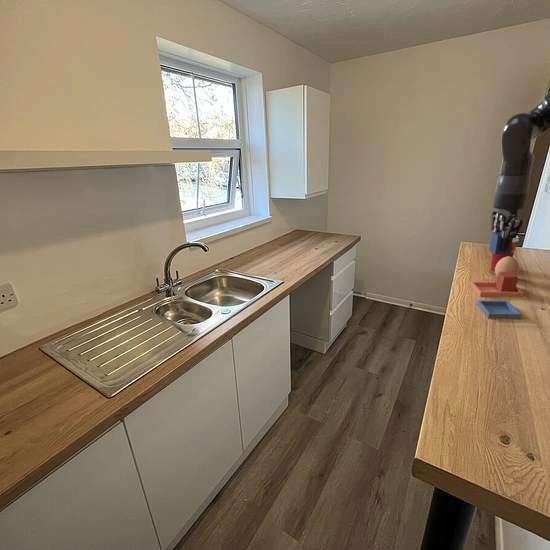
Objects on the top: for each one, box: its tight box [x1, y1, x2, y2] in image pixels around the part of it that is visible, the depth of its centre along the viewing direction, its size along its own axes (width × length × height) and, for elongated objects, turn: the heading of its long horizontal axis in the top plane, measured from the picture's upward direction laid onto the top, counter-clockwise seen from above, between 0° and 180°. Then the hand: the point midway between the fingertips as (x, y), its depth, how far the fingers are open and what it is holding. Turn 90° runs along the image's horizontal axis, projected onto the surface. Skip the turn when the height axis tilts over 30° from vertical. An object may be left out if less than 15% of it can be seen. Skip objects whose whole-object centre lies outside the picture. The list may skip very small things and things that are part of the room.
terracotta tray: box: [470, 281, 524, 298], centre depth 101 cm, size 12×8×2 cm
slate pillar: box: [488, 231, 513, 255], centre depth 92 cm, size 4×4×6 cm
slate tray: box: [476, 299, 523, 320], centre depth 89 cm, size 8×8×2 cm
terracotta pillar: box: [495, 272, 519, 292], centre depth 99 cm, size 4×4×6 cm
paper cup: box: [490, 235, 520, 272], centre depth 114 cm, size 8×8×14 cm
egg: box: [494, 256, 520, 278], centre depth 107 cm, size 7×7×9 cm
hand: (500, 247), depth 92 cm, fingers closed on slate pillar, 4 cm apart
